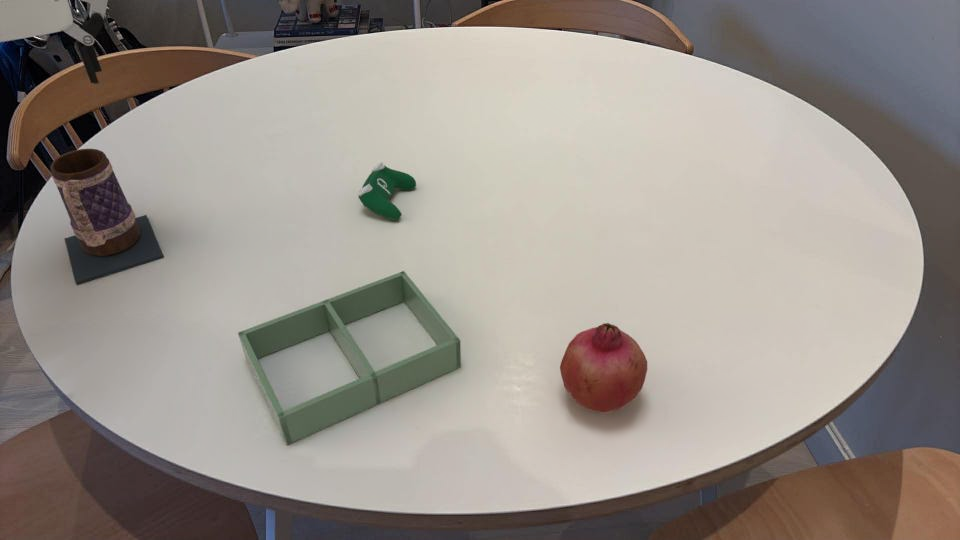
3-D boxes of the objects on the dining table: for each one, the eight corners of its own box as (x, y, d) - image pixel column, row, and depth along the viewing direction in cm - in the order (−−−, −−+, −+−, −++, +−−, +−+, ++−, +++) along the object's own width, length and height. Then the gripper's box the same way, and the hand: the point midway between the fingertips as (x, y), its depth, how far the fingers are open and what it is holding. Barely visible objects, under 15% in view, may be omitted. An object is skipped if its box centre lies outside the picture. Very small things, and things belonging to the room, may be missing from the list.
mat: (76, 284, 83) (75, 282, 82) (65, 240, 89) (64, 238, 89) (163, 257, 87) (163, 254, 86) (147, 217, 93) (146, 214, 93)
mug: (87, 227, 91) (51, 146, 83) (145, 220, 92) (114, 140, 84) (70, 278, 83) (28, 193, 75) (134, 269, 84) (98, 185, 76)
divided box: (286, 445, 65) (278, 418, 63) (246, 359, 73) (237, 332, 71) (461, 367, 73) (460, 340, 70) (406, 296, 81) (403, 270, 78)
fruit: (576, 440, 66) (587, 368, 59) (545, 377, 72) (552, 306, 65) (654, 420, 67) (672, 348, 61) (617, 360, 73) (631, 289, 67)
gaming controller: (403, 194, 100) (371, 166, 98) (420, 180, 98) (388, 151, 96) (384, 232, 93) (349, 203, 91) (401, 218, 91) (367, 188, 89)
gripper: (68, -110, 68) (125, 60, 79) (-148, -88, 61) (-53, 95, 72) (79, -95, 63) (138, 84, 74) (-155, -70, 56) (-52, 124, 67)
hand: (43, 89), depth 73 cm, fingers open, 9 cm apart
